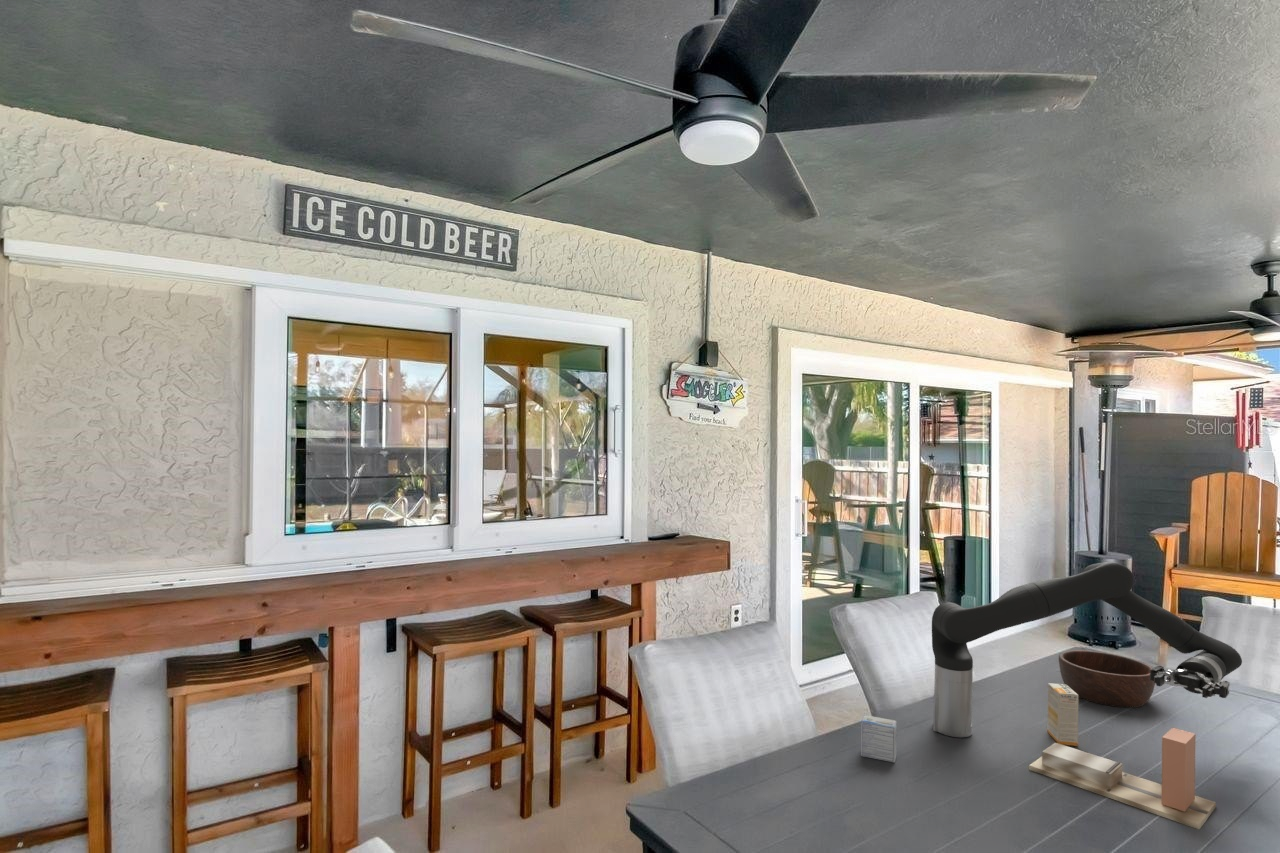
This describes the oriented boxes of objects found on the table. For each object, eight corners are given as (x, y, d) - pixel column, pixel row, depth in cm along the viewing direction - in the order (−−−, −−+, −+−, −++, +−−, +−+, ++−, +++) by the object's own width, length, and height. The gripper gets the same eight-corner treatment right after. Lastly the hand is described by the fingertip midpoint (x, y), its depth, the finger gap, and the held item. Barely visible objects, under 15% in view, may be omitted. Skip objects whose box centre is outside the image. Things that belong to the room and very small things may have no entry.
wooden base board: (1029, 769, 166) (1029, 751, 166) (1052, 753, 175) (1052, 736, 175) (1199, 829, 141) (1199, 808, 141) (1215, 806, 150) (1216, 787, 151)
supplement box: (1079, 746, 179) (1079, 694, 179) (1058, 744, 180) (1059, 693, 180) (1066, 733, 187) (1067, 683, 187) (1046, 731, 188) (1047, 682, 188)
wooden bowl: (1044, 679, 230) (1044, 647, 230) (1127, 684, 226) (1128, 652, 227) (1081, 708, 205) (1081, 673, 205) (1175, 715, 202) (1175, 679, 202)
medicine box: (896, 756, 172) (897, 720, 172) (895, 763, 168) (895, 727, 168) (862, 749, 175) (863, 714, 175) (860, 756, 171) (861, 720, 171)
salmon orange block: (1161, 803, 149) (1162, 737, 149) (1171, 792, 154) (1172, 727, 154) (1184, 811, 146) (1185, 743, 146) (1194, 799, 151) (1195, 733, 151)
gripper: (1164, 650, 176) (1144, 662, 166) (1237, 666, 165) (1221, 679, 155) (1163, 680, 176) (1143, 694, 166) (1236, 698, 165) (1220, 714, 155)
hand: (1180, 687), depth 160 cm, fingers open, 8 cm apart
